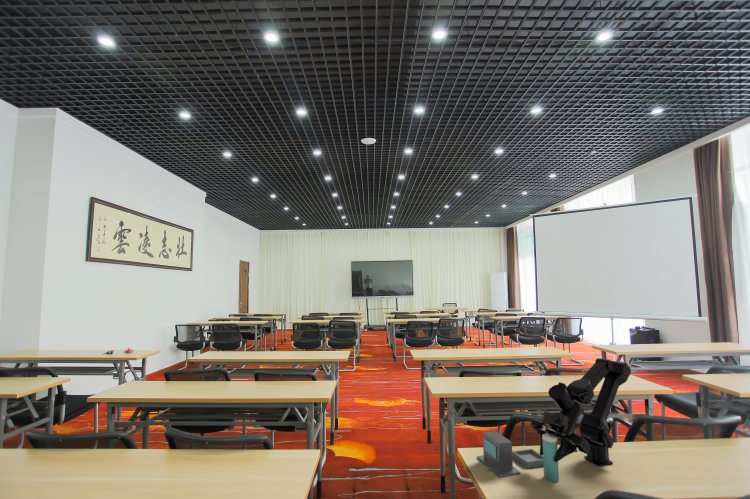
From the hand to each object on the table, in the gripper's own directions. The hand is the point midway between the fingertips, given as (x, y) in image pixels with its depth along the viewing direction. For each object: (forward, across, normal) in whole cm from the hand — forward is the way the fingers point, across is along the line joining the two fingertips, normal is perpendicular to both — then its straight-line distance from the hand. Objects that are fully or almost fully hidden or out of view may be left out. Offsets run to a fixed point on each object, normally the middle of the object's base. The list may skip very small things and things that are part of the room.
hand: (547, 458), depth 120 cm
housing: (+10, -14, -1) cm, 18 cm away
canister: (+4, 0, +6) cm, 7 cm away
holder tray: (+1, -12, +8) cm, 14 cm away
